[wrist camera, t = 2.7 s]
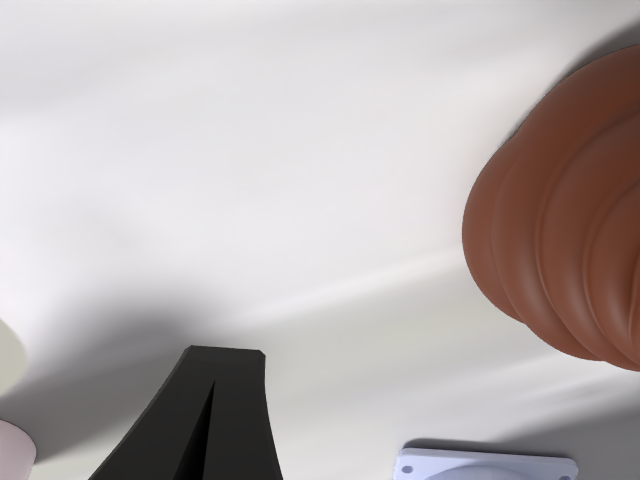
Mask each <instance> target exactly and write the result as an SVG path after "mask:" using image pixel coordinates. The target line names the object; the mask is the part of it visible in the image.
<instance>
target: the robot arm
mask: <svg viewBox="0 0 640 480" xmlns="http://www.w3.org/2000/svg"><path fill="white" fill-rule="evenodd" d="M265 357H266V356H265V355H264V354H263V353H262V352H261V351H260V350H251V349H236V348H222V347H207V346H193V345H191V346H190V347H188V348H187V349H185V351H184V352H183V354H182V356H181V357H180V359H179V361H178V362H177V364H176V366H175V367H174V369H173V370H172V372H171V373H170V375H169V376H168V378H167V379H166V381H165V382H164V384H163V385H162V387H161V388H160V390H159V391H158V392H157V394H156V395H155V397H154V398H153V399H152V401H151V402H150V404H149V405H148V406H147V408H146V409H145V410H144V412H143V413H142V414H141V415H140V417H139V418H138V419H137V421H136V422H135V423H134V425H133V426H132V427H131V428H130V430H129V431H128V432H127V434H126V435H125V436H124V438H123V439H122V440H121V441H120V443H119V444H118V445H117V446H116V447H115V449H114V450H113V451H112V452H111V453H110V454H109V456H108V457H107V458H106V459H105V460H104V461H103V463H102V464H101V465H100V466H99V467H98V468H97V470H96V471H95V472H94V473H93V474H92V475H91V477H90V478H89V479H88V480H283V477H282V474H281V470H280V466H279V462H278V458H277V454H276V449H275V445H274V440H273V436H272V431H271V427H270V421H269V416H268V409H267V402H266V394H265ZM578 472H579V468H578V466H577V464H576V462H575V461H574V460H573V459H569V458H556V457H541V456H526V455H511V454H496V453H481V452H465V451H450V450H435V449H420V448H405V449H402V450H401V451H399V453H398V454H397V458H396V463H395V468H394V472H393V477H392V480H575V479H576V477H577V474H578Z"/></svg>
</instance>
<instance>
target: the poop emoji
mask: <svg viewBox="0 0 640 480" xmlns="http://www.w3.org/2000/svg"><path fill="white" fill-rule="evenodd" d="M462 243H463V250H464V255H465V259H466V262H467V265H468V268H469V270H470V273H471V275H472V277H473V279H474V281H475V282H476V284H477V286H478V287H479V288H480V290H481V291H482V292H483V294H484V295H485V296H486V297H487V298H488V299H489V300H490V302H491V303H493V304H494V305H495V306H496V307H497V308H498V309H500V310H501V311H502V312H504V313H505V314H507V315H508V316H510V317H512V318H514V319H515V320H517V321H520V322H522V323H524V324H526V325H527V326H528V327H529V328H530V330H531V331H533V332H534V333H535V334H536V335H537V336H538V337H539V338H540V339H542V340H543V341H544V342H546V343H547V344H549V345H550V346H552V347H554V348H555V349H557V350H559V351H561V352H563V353H566V354H568V355H571V356H574V357H577V358H581V359H586V360H593V361H606V362H608V363H610V364H612V365H615V366H617V367H620V368H623V369H627V370H632V371H638V372H640V44H639V45H635V46H631V47H627V48H624V49H620V50H618V51H615V52H612V53H610V54H607V55H605V56H602V57H600V58H598V59H596V60H594V61H592V62H590V63H588V64H587V65H585V66H583V67H582V68H580V69H578V70H577V71H575V72H574V73H572V74H571V75H570V76H568V77H567V78H565V79H564V80H563V81H562V82H560V83H559V84H558V85H557V86H556V87H554V88H553V89H552V90H551V91H550V92H549V93H548V94H547V95H546V96H545V97H544V98H543V99H542V100H541V101H540V102H539V103H538V104H537V105H536V107H535V108H534V109H533V110H532V111H531V113H530V114H529V115H528V116H527V118H526V119H525V120H524V122H523V123H522V125H521V126H520V128H519V129H518V131H517V132H516V134H515V135H514V136H513V137H512V138H510V139H509V140H508V141H507V142H506V143H505V144H504V145H503V146H502V147H501V148H500V149H499V150H498V151H497V152H496V153H495V154H494V155H493V156H492V157H491V159H490V160H489V161H488V162H487V164H486V165H485V166H484V168H483V169H482V171H481V172H480V174H479V176H478V177H477V179H476V181H475V183H474V185H473V187H472V189H471V192H470V194H469V197H468V200H467V203H466V206H465V210H464V216H463V223H462Z"/></svg>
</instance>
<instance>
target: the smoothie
mask: <svg viewBox="0 0 640 480" xmlns="http://www.w3.org/2000/svg"><path fill="white" fill-rule="evenodd" d="M35 458H36V447H35V445H34V443H33V441H32V440H31V438H30V437H29V436H28V435H27V434H26V433H25V432H23V431H22V430H21V429H19V428H18V427H16V426H14V425H12V424H10V423H8V422H5V421H2V420H0V480H28V478H29V476H30V473H31V470H32V467H33V464H34V461H35Z"/></svg>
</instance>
